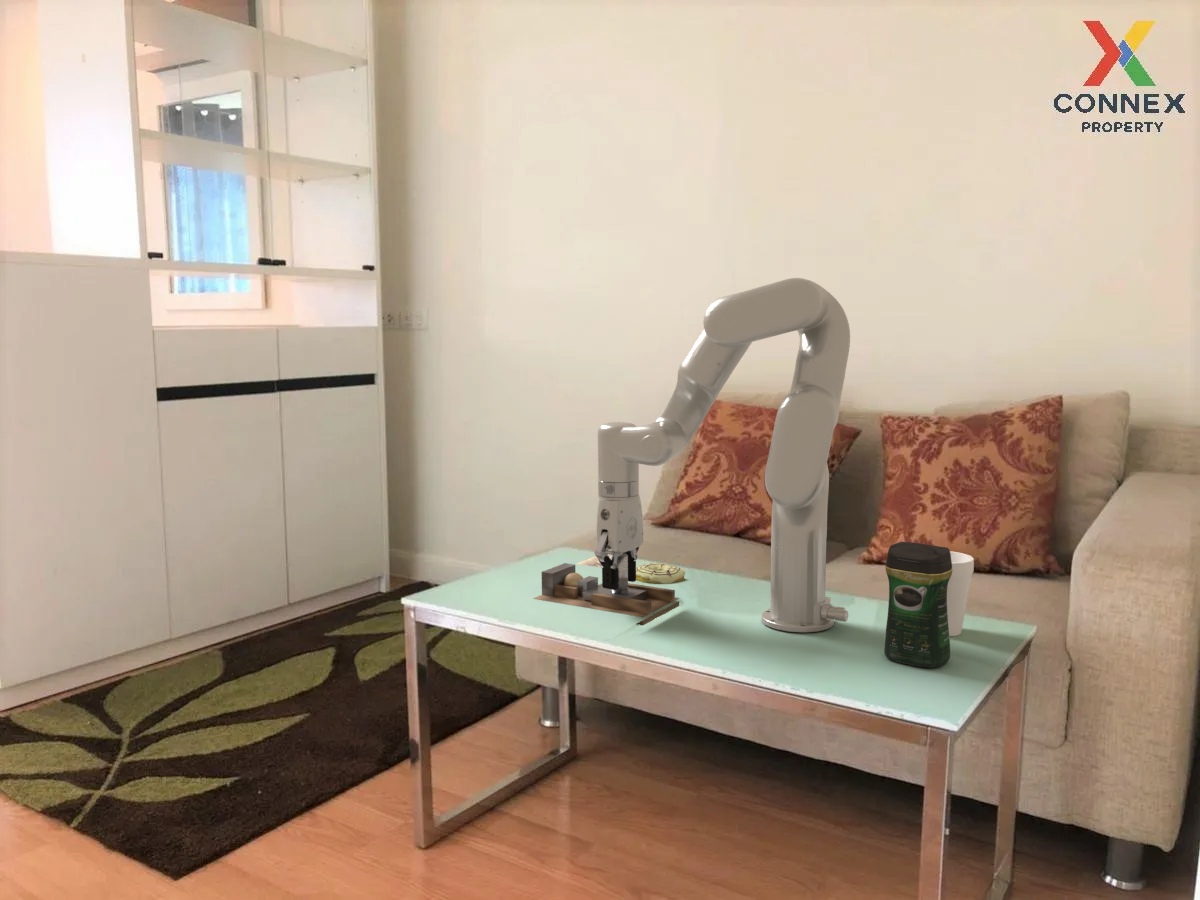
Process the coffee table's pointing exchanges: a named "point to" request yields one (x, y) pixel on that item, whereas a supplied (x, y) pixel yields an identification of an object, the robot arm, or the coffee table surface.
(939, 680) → the coffee table surface
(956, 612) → the foam cup
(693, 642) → the coffee table surface
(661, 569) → the decorated donut
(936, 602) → the coffee jar
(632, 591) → the ram
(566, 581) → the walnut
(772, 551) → the robot arm
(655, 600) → the brown piece
